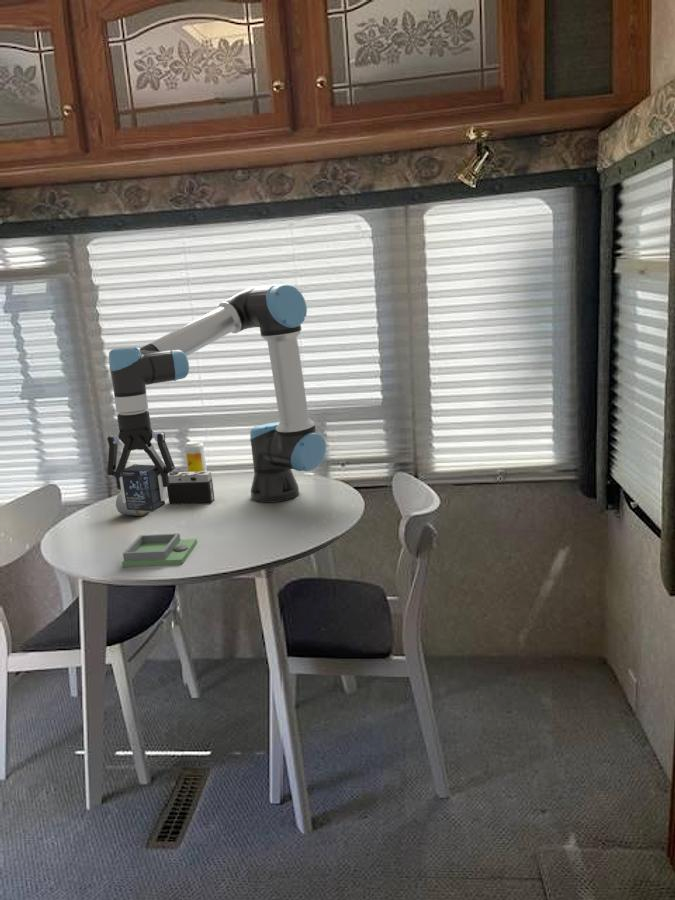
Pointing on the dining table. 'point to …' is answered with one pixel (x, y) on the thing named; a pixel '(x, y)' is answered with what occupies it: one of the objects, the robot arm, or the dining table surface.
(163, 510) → the dining table surface
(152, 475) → the box
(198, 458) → the white and yellow cylinder
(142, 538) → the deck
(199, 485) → the camera
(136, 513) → the ceramic mug
